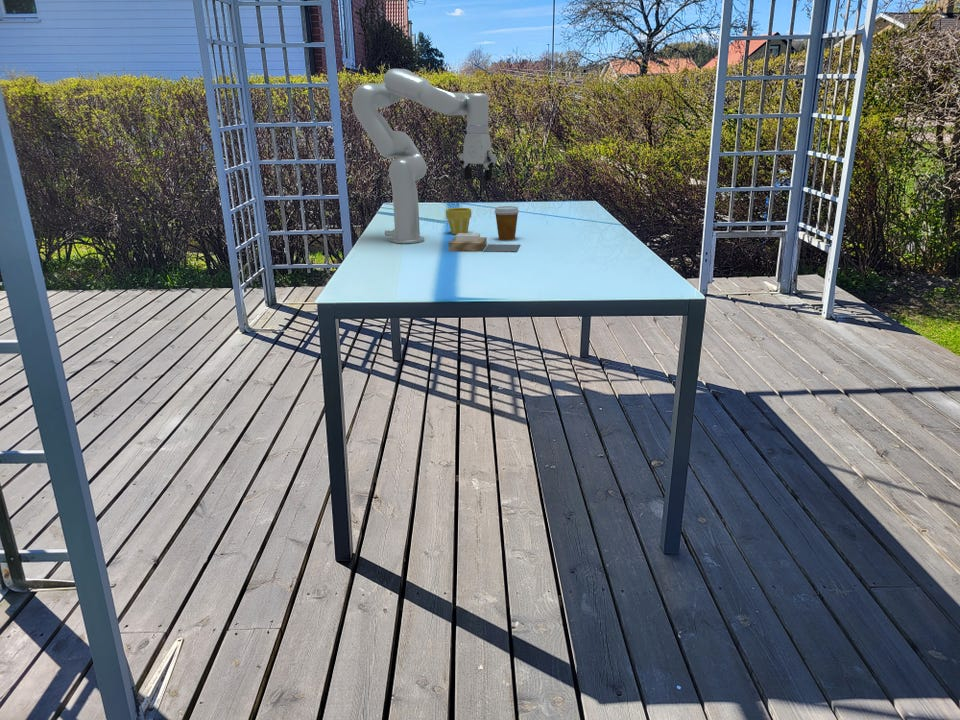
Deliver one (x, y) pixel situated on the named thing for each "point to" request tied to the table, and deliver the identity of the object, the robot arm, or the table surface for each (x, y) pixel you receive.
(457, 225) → the plant pot
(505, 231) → the disposable coffee cup
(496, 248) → the mat
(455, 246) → the block
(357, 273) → the table surface
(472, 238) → the tile
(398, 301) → the table surface
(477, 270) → the table surface
